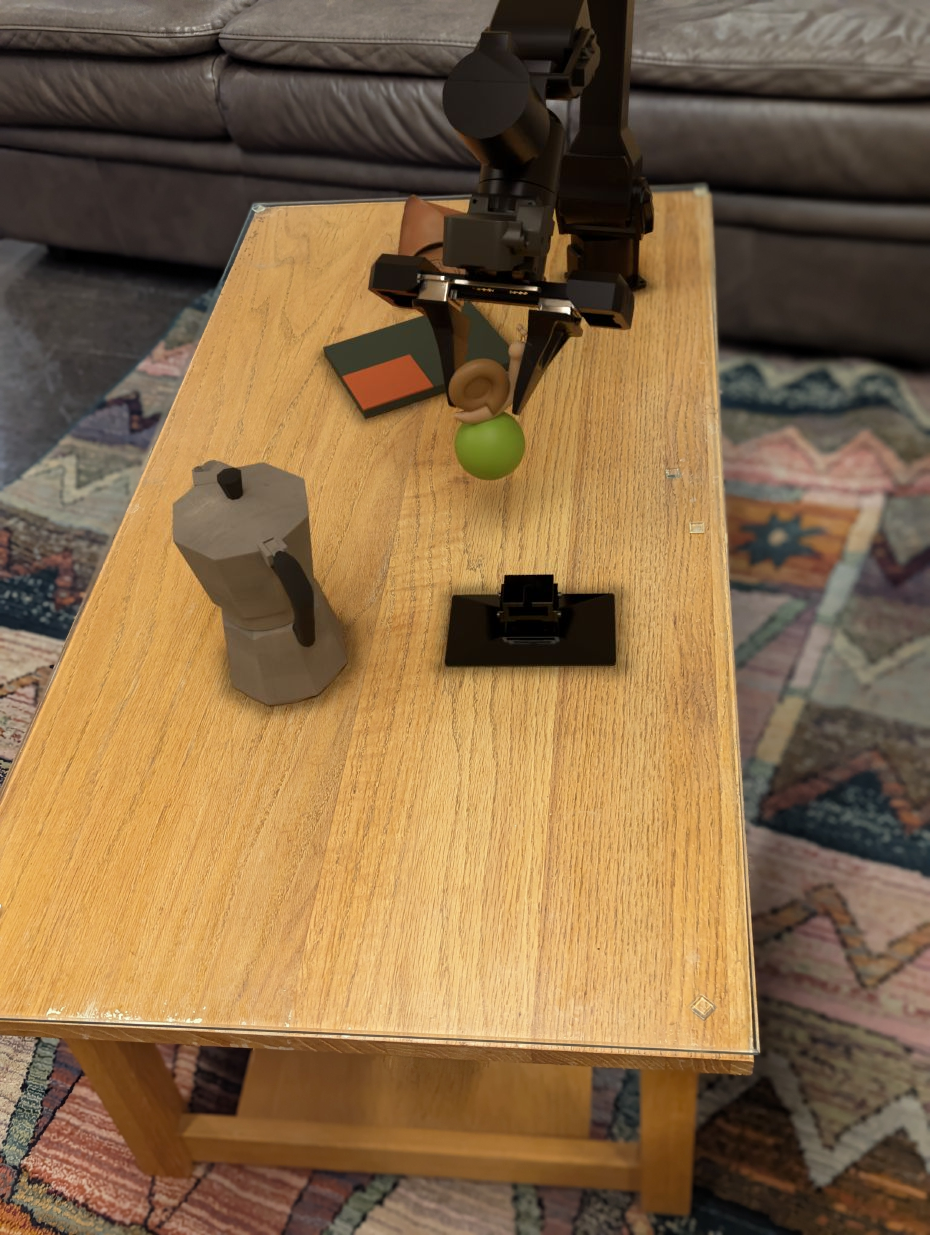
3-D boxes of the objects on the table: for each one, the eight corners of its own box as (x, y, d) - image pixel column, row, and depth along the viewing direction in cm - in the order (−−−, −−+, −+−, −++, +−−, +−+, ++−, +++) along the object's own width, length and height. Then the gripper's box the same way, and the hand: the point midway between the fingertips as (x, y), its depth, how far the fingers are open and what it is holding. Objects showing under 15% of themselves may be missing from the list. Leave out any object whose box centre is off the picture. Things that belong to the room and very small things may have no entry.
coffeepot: (196, 635, 83) (120, 451, 70) (304, 581, 86) (250, 395, 73) (285, 768, 74) (217, 585, 61) (402, 702, 77) (362, 514, 64)
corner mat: (470, 309, 111) (469, 299, 110) (520, 366, 103) (520, 356, 102) (324, 355, 108) (322, 345, 107) (365, 419, 100) (363, 408, 99)
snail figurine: (550, 477, 83) (540, 345, 74) (473, 503, 82) (453, 372, 73) (523, 438, 87) (511, 307, 78) (449, 462, 86) (427, 333, 77)
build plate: (444, 668, 79) (436, 625, 75) (453, 596, 84) (446, 553, 80) (616, 667, 77) (616, 623, 74) (614, 593, 82) (614, 549, 79)
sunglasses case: (478, 295, 112) (439, 247, 108) (424, 330, 115) (385, 284, 111) (477, 212, 124) (442, 166, 120) (429, 246, 127) (393, 201, 123)
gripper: (354, 144, 72) (322, 377, 74) (628, 159, 67) (588, 409, 69) (410, 199, 83) (381, 402, 84) (650, 215, 78) (615, 431, 79)
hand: (483, 410), depth 79 cm, fingers closed on snail figurine, 4 cm apart
